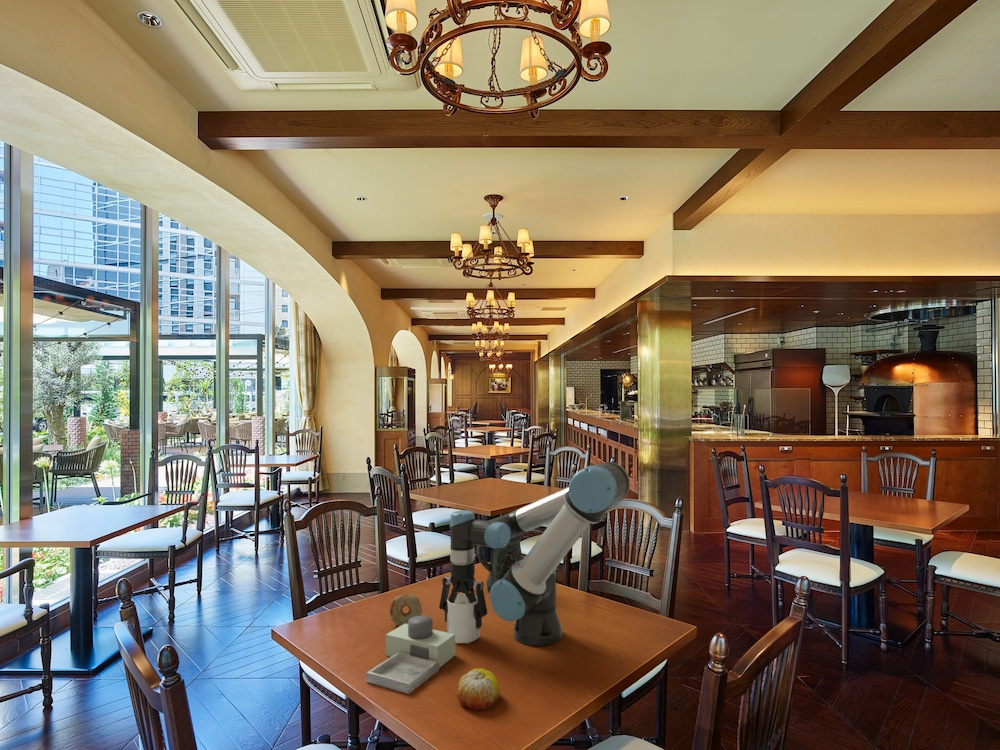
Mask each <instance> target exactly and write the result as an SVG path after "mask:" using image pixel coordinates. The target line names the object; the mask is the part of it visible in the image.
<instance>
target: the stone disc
mask: <svg viewBox="0 0 1000 750" xmlns="http://www.w3.org/2000/svg"><path fill="white" fill-rule="evenodd" d="M404 607H407V608H408V611H407V612H404V610H403V608H404ZM422 609H423V607H422V604H421V601H420V600H419V598H418V597H417V595H414V594H411V593H402V594H400V595H397V596H395V597H394V598H393V599H392V601H391V603H390V608H389V616H390V620H391V622H393V623H394V625H396V626H398V627H400V626H401V625H403V624H408V620H409V619H410V618H412V617H415V616H422V613H423V610H422Z"/></svg>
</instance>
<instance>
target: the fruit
mask: <svg viewBox="0 0 1000 750" xmlns="http://www.w3.org/2000/svg"><path fill="white" fill-rule="evenodd" d="M500 689H501V688H500V684H499V682H498V679H497V677H496V676H495V675H494V673H493V672H491V671H490V670H487V669H486V668H479V667H478V668H473V669H471V670H470V671H469V672H467V673H465V674H463V675H462V676H461V677H460V679H459V681H458V684H457V691H456V697H457V699H458V701H459V703H460V704H461V705H462V706H463V707H467V708H468V709H469V710H475V711H484V710H490V709H492V708H493V707H494V706H496V705H497V704H498V703H499V699H500V695H501V694H500V693H501V692H500V691H501V690H500Z"/></svg>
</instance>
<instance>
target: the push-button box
mask: <svg viewBox="0 0 1000 750" xmlns="http://www.w3.org/2000/svg"><path fill="white" fill-rule="evenodd" d="M398 652H402V653H406V654H410V655H414V656H418V657H422V658H426V659H430V660H434V661H438V662H439V668H441V667H442V666H444V664H446V663H447V662H448V661H450V660H451V659H453V658H454V657H456V643H455V634H451V633H447V631H441V630H437V629H434V628H433V618H432V617H431V616H427V615H421V616H415V617H412V618H410V619H409V620H408V624H403V625H401V626H398V627H396V628H395V629H393V630H391V631H390V632H388V633H386V634H385V656H386V657H388V658H390V657H391V656H393V655H394V654H396V653H398ZM453 656H454V657H453Z"/></svg>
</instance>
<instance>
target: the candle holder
mask: <svg viewBox="0 0 1000 750" xmlns="http://www.w3.org/2000/svg"><path fill="white" fill-rule="evenodd" d="M475 596H476V599H477V595H476V594H475ZM477 603H478V600H477V601H476V602H473V603H470V602H469V600H468V597H466V595H465V594H464V593H458V594H457V597H456V599H455V601H454V604H453V603H450V602H449V597H448V599H447V604H448V620H449V633H451V634H455V644H458V643H466V644H470V642H471V643H474V642H475V640H473V618H474V617H475V615H474V605H476V604H477Z"/></svg>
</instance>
